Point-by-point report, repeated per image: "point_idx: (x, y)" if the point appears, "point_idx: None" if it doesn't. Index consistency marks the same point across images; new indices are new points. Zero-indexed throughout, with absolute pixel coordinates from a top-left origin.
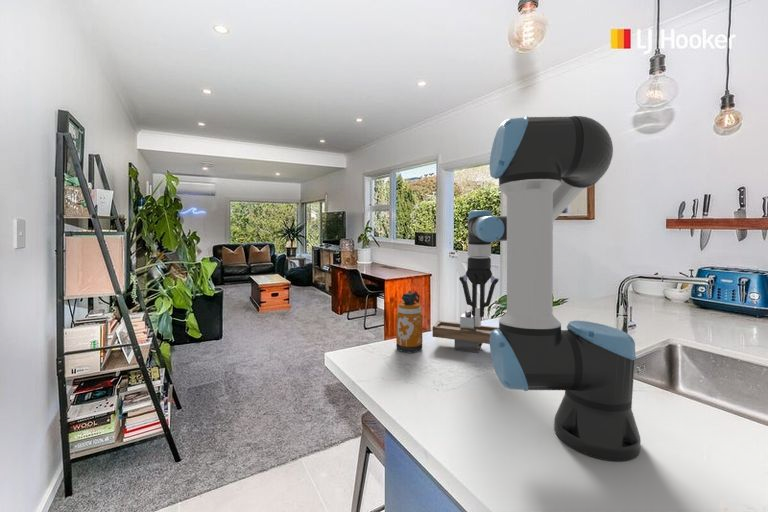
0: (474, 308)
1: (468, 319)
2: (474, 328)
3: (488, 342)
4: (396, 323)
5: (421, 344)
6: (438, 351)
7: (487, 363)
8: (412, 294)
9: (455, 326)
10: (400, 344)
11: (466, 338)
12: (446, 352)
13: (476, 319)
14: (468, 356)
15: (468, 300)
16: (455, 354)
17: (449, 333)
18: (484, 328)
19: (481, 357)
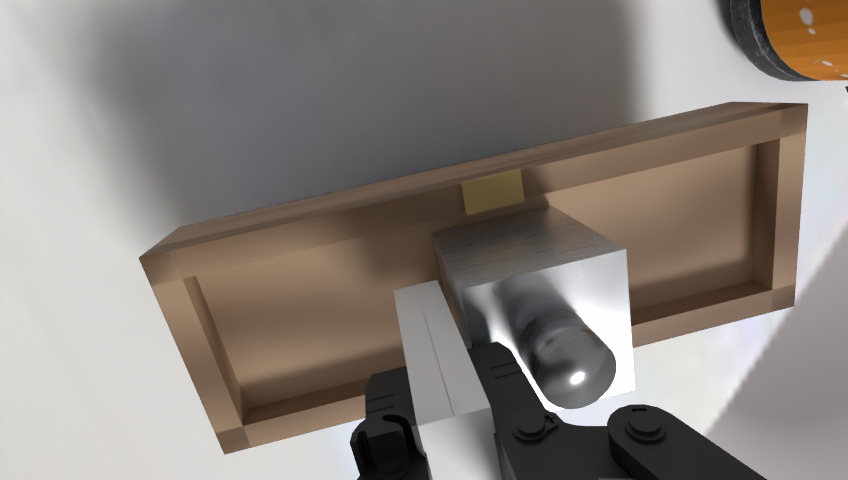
0: (507, 414)
1: (517, 266)
2: (444, 287)
3: (284, 206)
4: None
5: (757, 21)
6: (613, 61)
7: (239, 40)
8: None
9: None
10: None
11: (466, 167)
12: (559, 75)
13: (435, 317)
14: (404, 92)
15: (680, 469)
16: (493, 76)
17: (621, 137)
18: None
19: (322, 128)
